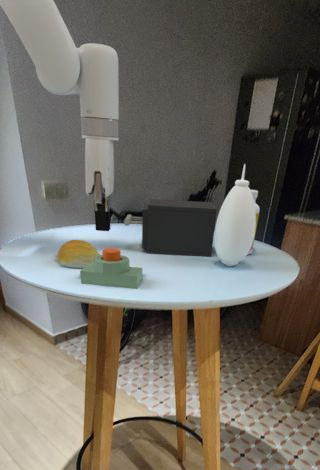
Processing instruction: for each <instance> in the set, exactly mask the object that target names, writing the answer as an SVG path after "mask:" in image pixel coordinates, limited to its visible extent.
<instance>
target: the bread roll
mask: <svg viewBox="0 0 320 470" xmlns="http://www.w3.org/2000/svg"><path fill="white" fill-rule="evenodd" d="M99 255H100V254H99V251H98V250H97V249H96V247H94V245H93V244H91V243H90V242H88V241H85V240H82V239H71V240H68V241H66V242H65V243H63V244H62V245H61V246H60V247H59V249H58V252H57V257H56V258H57V259H56V261H57V263H58V264H59V265H60V266H62V267H65V268H70V269H83V268H84V267H85V266H86V265H87V264H88V263H93V264H94V258H95V257H96V256H99Z"/></svg>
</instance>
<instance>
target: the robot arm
mask: <svg viewBox="0 0 320 470" xmlns="http://www.w3.org/2000/svg"><path fill="white" fill-rule="evenodd" d="M0 8H1V9H2V10H3V12H4V14H5V16H6V17H7V18H8V20H9V21H10V23H11V25H12V27H13V29H14V30H15V33H16V34H17V36H18V37H19V40H20V41H21V43H22V44H23V46H24V48H25V50H26V52H27V54H28V55H29V57H30V60H32V63H33V65H34V67H35V72H36V76H37V79H38V80H39V83H41V85H42V86H43V88H44V89H46V91H47V92H49V93H51V94H53V95H56V96H69V95H79V110H80V128H81V129H80V130H81V139H85V143H84V144H85V145H84V146H85V147H84V163H85V164H84V172H85V173H84V174H85V176H84V177H85V181H84V182H85V194H86V195H87V196H88V197H89V196H92V195H93V197H94V223H95V225H94V227H95V231H100V232H110V231H111V210H110V209H111V207H110V206H111V205H110V204H111V203H110V201H111V200H110V198H111V197H110V195H112V194H113V193H114V191H115V190H114V189H115V155H114V154H115V151H114V150H115V148H114V147H115V146H114V142H120V121H119V120H120V110H119V109H120V108H119V107H120V104H119V103H120V101H119V100H120V97H119V96H120V95H119V94H120V93H119V91H120V90H119V89H120V87H119V86H120V85H119V83H120V81H119V79H120V78H119V74H120V73H119V67H120V66H119V55H118V52H117V51H116V49H115V48H113V47H112V46H109V45H106V44H102V43H92V42H91V43H83V44H82V45H79V47H77V46H76V44H75V42H74V38H73V37H72V34H71V33H70V31H69V29H68V27H67V25H66V23H65V21H64V19H63V17H62V15H61V13H60V11H59V8H58V6H57V4H56V2H55V1H54V0H0Z"/></svg>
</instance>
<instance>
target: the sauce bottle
mask: <svg viewBox="0 0 320 470" xmlns="http://www.w3.org/2000/svg"><path fill="white" fill-rule="evenodd" d="M245 175H246V163H244V164H243V168H242V172H241V178H240V179H236V180H235V182H234V186H232V188H231V189H230V191H229V192H228V193H227V195H226V197H225V199H224V200H223V202H222V205H221V207H220V209H219V211H218V215H217V217H216V221H215V229H214V237H213V243H214V244H213V245H214V250H215V253H216V256H217V258H218V259H219V260H221V263H222V264H224V265H225V266H226V267H234V266H235V265H236V266H237V265H239V263H240V262H242V261H244V260H245V258H246V257H247V256H248V255H247V254H248V252H249V250H250V248H251V245H252V242H253V239H254V234H255V235H256V233H255V226H256V213H255V205H254V200H253V196H252V193H251V190H252V189H250V188H251V187H250V181H249V180H246V179H245ZM254 240H255V239H254Z"/></svg>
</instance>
